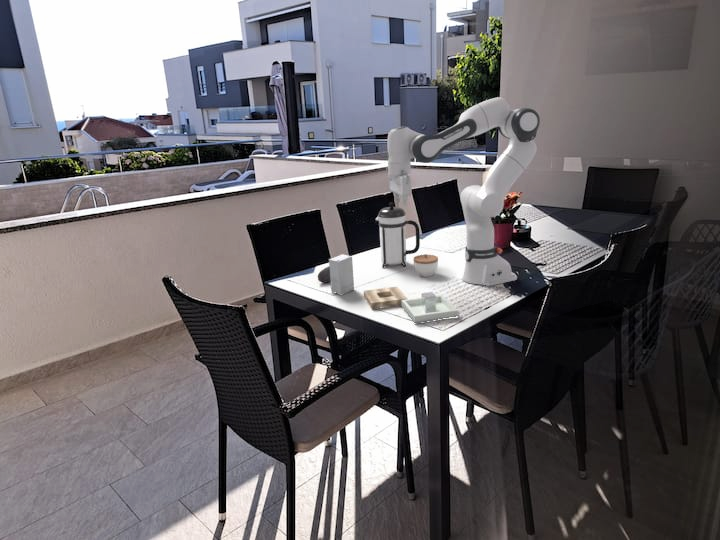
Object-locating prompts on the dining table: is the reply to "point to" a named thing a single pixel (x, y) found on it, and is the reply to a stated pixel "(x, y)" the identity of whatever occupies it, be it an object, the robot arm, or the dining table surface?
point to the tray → (418, 315)
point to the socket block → (384, 297)
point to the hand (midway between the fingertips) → (400, 204)
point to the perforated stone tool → (324, 275)
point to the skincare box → (341, 274)
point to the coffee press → (395, 236)
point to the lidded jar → (426, 265)
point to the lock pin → (428, 302)
